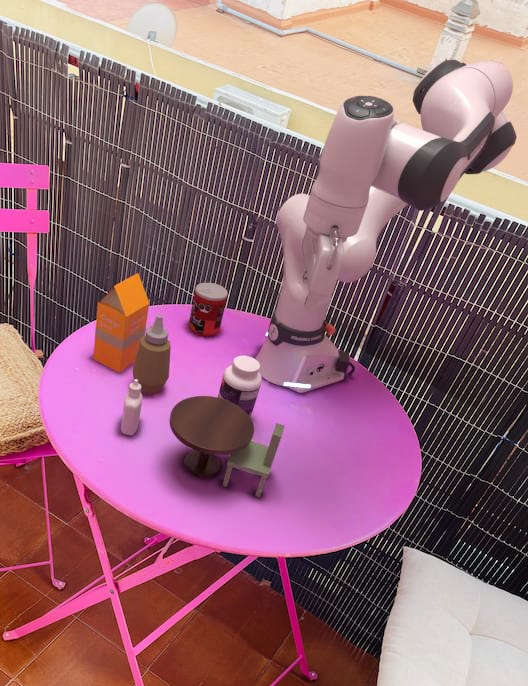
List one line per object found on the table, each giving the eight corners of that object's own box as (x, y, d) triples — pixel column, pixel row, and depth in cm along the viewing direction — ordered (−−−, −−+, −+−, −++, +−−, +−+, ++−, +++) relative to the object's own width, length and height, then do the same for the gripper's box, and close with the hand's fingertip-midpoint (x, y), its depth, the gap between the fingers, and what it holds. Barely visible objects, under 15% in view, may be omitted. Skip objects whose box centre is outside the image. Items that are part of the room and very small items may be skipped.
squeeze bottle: (168, 380, 155) (180, 310, 143) (164, 401, 149) (177, 330, 137) (133, 373, 155) (142, 303, 142) (128, 394, 149) (137, 323, 136)
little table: (248, 453, 141) (261, 410, 133) (231, 504, 129) (244, 460, 122) (175, 430, 143) (183, 386, 135) (151, 478, 131) (159, 434, 123)
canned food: (183, 322, 174) (190, 282, 166) (212, 320, 177) (220, 281, 169) (194, 338, 169) (202, 299, 162) (223, 336, 172) (232, 297, 164)
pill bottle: (207, 408, 150) (220, 353, 140) (240, 404, 152) (255, 350, 142) (222, 432, 144) (236, 376, 134) (255, 427, 147) (272, 372, 137)
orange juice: (92, 358, 157) (99, 279, 143) (115, 343, 162) (124, 265, 149) (119, 373, 154) (129, 293, 140) (142, 357, 160) (153, 279, 146)
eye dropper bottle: (112, 428, 140) (118, 380, 132) (130, 416, 144) (137, 369, 135) (128, 438, 138) (135, 391, 130) (146, 426, 142) (153, 379, 134)
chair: (268, 472, 137) (286, 418, 128) (260, 498, 132) (279, 444, 122) (230, 460, 138) (245, 406, 129) (220, 485, 132) (236, 430, 123)
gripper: (359, 246, 99) (330, 329, 108) (347, 194, 114) (322, 271, 123) (317, 238, 99) (291, 322, 108) (310, 187, 114) (288, 264, 123)
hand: (308, 294), depth 116 cm, fingers open, 8 cm apart
